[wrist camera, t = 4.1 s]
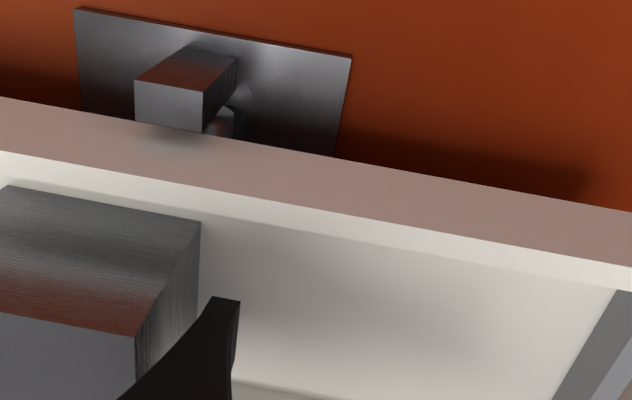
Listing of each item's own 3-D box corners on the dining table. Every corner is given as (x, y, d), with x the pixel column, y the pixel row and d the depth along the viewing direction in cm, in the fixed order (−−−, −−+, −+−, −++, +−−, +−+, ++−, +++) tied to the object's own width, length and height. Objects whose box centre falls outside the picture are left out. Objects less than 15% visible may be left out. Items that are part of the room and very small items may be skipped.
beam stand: (352, 55, 14) (345, 95, 11) (297, 349, 20) (282, 432, 17) (79, 6, 14) (-8, 32, 11) (105, 313, 20) (54, 388, 17)
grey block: (201, 221, 12) (134, 337, 9) (195, 354, 15) (140, 487, 11) (7, 184, 12) (-135, 286, 9) (32, 322, 15) (-72, 445, 11)
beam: (640, 214, 13) (700, 280, 10) (527, 413, 17) (552, 493, 14) (-407, 21, 13) (-576, 43, 11) (-274, 260, 17) (-376, 314, 15)
